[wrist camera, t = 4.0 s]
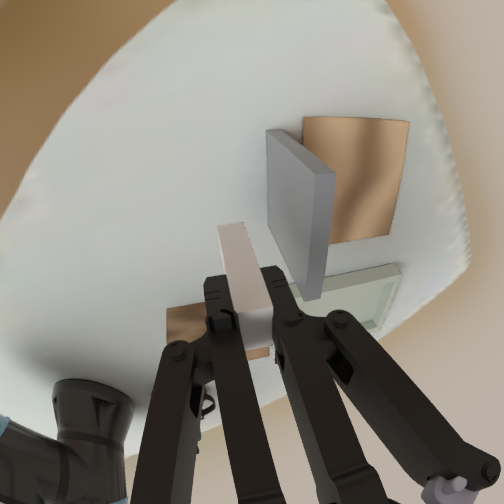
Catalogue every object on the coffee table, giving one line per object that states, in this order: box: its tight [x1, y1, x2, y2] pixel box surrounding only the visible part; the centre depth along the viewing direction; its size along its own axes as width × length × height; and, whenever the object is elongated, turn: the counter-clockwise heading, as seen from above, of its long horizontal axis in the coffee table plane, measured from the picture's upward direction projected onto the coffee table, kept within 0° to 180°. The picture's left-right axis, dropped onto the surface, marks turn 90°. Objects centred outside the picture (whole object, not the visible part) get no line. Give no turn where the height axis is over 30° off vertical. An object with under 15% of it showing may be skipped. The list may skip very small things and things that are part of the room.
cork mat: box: [302, 117, 409, 244], centre depth 26 cm, size 11×13×1 cm
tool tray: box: [273, 263, 402, 349], centre depth 36 cm, size 16×11×2 cm
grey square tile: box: [266, 129, 336, 302], centre depth 21 cm, size 1×9×10 cm, turn 3°
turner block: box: [166, 302, 270, 361], centre depth 30 cm, size 10×4×6 cm, turn 94°
